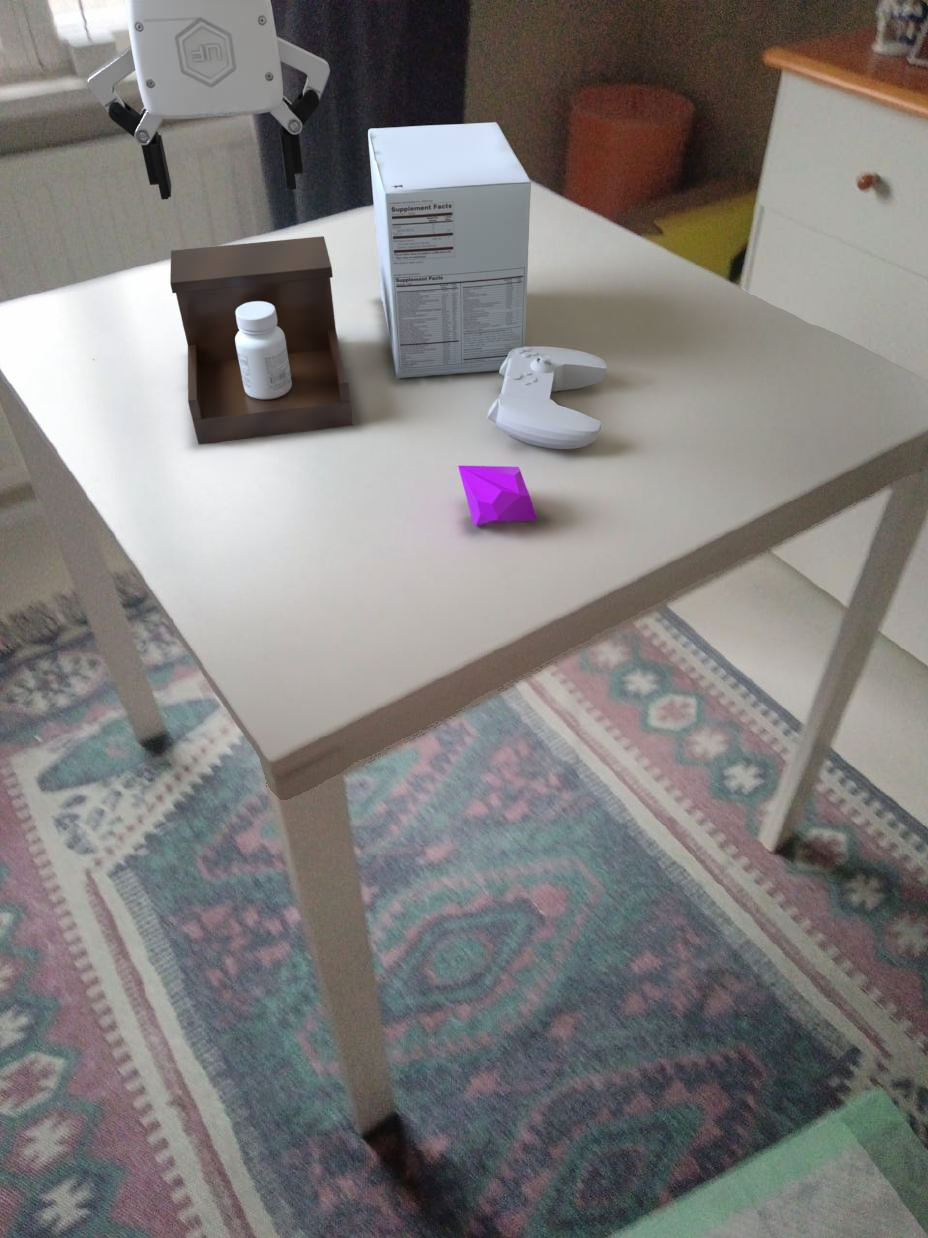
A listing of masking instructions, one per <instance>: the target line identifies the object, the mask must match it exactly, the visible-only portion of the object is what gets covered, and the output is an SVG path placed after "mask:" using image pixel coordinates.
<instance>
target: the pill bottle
mask: <svg viewBox="0 0 928 1238" xmlns="http://www.w3.org/2000/svg"><path fill="white" fill-rule="evenodd" d="M236 320H237V325H238V328H239V330H240V331H239V332H238V333H237V335H236V337H235V343H236V349H237V354H238V359H239V364H240V370H241V375H242V381H243V385H244V390H245V392H246V393H247V394H248V395H249V396H250V397H252V398H256V399H274V398H278V397H281V396H283V395H285V394H286V393H287V392H288V391H289V390H290V389H291V386H292V380H291V373H290V366H289V360H288V353H287V347H286V340H285V335H284V332H283V331H282V329H280V328H279V327H278V326H277V315H276V310H275V307H274V306H273V305H272V304H270V303H267V302H263V301H255V302H248V303H245V304H243V305H241V306H239V307H238V308H237V309H236Z"/></svg>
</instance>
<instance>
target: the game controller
mask: <svg viewBox="0 0 928 1238" xmlns="http://www.w3.org/2000/svg"><path fill="white" fill-rule="evenodd" d="M498 371H499V372H498V373H499V374H500V375H501V376H503V382H502V386H501V387H502V388H501V391H500V392H499V395H498V397H497V398H496V399H495V400H494V402H493V403H492V404H491V406H490V408H489V410H488V411H487V416H486V418H487V419H488V420H490V421H492V422H494V423H495V426H496V427H497V428H498V429H500V430H501V431H502V432H504V433H505V434H507V435H509V437H512V438H514V439H515V440H518V441H520V442H523V443H526V444H529V445H532V446H536V447H540V448H545V449H552V450H572V449H573V450H574V449H580V448H583V447H586V446H589V445H590V444H592V443H593V442H595V441H596V440H597V438H598V437H599V434H600V433H601V431H602V426H603V425H602V422H601V421H600V420H598V419H596V418H594V417H591V416H589V415H587V414H584V413H583V412H580V411H577V410H575V409H572V408H569V407H565V406H561V405H558V404H557V403H556V402H555V401H554V400H553V399H551V393H552V392H558V391H566V390H568V391H569V390H576V389H581V388H585V387H590V386H593V385H596V384H597V383H600V382H602V381H603V380H604V379H605V378H606V377H607V373H608V369H607V364H606V361H605V360H603V358H601V357H599V356H597V355H595V354H593V353H589V352H585V351H581V350H578V349H572V348H565V347H555V346H526V345H525V347H521V348H516V349H512V350H511V351H510V352H509V354H508V357H507V358H506V360H505V361H504V363H503V364H502V366H501V367H500V370H498Z"/></svg>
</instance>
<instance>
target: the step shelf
mask: <svg viewBox="0 0 928 1238" xmlns="http://www.w3.org/2000/svg"><path fill="white" fill-rule="evenodd" d="M169 276H170V277H169V278H170V279H169V280H170V281H169V284H170V289H171V292H172V294H175V295H176V301H177V305H178V309H179V314H180V318H181V322H182V327H183V331H184V337H185V340H186V345H187V403H188V406H189V411H190V415H191V419H192V424H193V428H194V432H195V436H196V440H197V444H198V445H202V444H203V445H204V444H210V443H218V442H227V441H235V440H243V439H251V438H260V437H267V436H276V435H283V434H284V435H285V434H292V433H301V432H309V431H316V430H325V429H332V428H341V427H342V428H343V427H350V426H354V425H353V423H354V422H353V415H352V404H351V397H350V387H349V380H348V375H347V371H346V366H345V363H344V359H343V355H342V350H341V346H340V341H339V337H338V333H337V328H336V319H335V309H334V300H333V291H332V283H331V278H333V266H332V262H331V259H330V255H329V250H328V246H327V243H326V239H325V236H323V235H322V236H312V237H311V236H310V237H300V238H299V237H298V238H289V239H280V240H270V241H258V242H249V243H238V244H237V243H236V244H227V245H226V244H225V245H217V246H206V247H196V248H195V247H194V248H185V249H174V250H170V275H169ZM255 301H263V302H267V303H270V304H272V305H273V306H274V307H275V310H276V315H277V326H278V327H279V328H280V329H282V331H283V332H284V335H285V340H286V347H287V353H288V360H289V366H290V373H291V380H292V386H291V389H290V390H289V391H288V392H287V393H286V394H285V395H283V396H281V397H278V398H274V399H256V398H252V397H250V396H249V395H248V394H247V393H246V392H245V390H244V385H243V381H242V375H241V370H240V364H239V359H238V354H237V349H236V343H235V337H236V335H237V333H238V332H239V331H240V330H239V328H238V325H237V320H236V309H237V308H238V307H239V306H241V305H243V304H245V303H248V302H255Z"/></svg>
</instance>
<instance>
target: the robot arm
mask: <svg viewBox="0 0 928 1238" xmlns="http://www.w3.org/2000/svg"><path fill="white" fill-rule="evenodd" d="M271 1H272V0H124V7H125V15H126V21H127V28H128V34H129V40H130V45H129V46H128V47H126V48H124V49H123V50H122V51H120V52H119V53H118V54H116V55H114V56H113V57H112V58H111V59H109V60H108V61H107V62H105V63H103V64H102V65H100V66H99V67H97V69H94V71H92V72H91V73H90V74H89V75H88V77H87V78H88V79H87V82H86V83H87V87H88V89H89V90H90V92H91V93H92V95H93V96H94V97H95V99H96V100H97V101H98V102H99V104H100V105H101V107H102V108H103V109H104V110H105V111H106V113H107V114H108V116H109V118H110V119H111V120H112V121H113V122H114V123H115V124H117V125H118V126H119V127H120V128H122V129H123V130H124V131H126V132H127V133H128V134H129V135H131V137H133V138H134V139H135V141H136V142H137V143H138V144H139V145H141V150H142V155H143V160H144V164H145V169H146V173H147V177H148V182H149V185H150V186H158V189H159V194H160V199H161V200H169V199H170V198H171V197H172V181H171V176H170V172H169V166H168V161H167V157H166V151H165V146H164V141H163V138H162V137H163V136H162V134H159V131H158V129H159V128H160V126H161V124H162V123H163V121H164V120H189V119H207V118H221V117H222V118H223V117H237V116H249V115H261V114H265V113H270V115H272V116H273V117H274V118H275V119H276V121H277V122H278V123H279V124H280V126H278V134H279V142H280V151H281V159H282V166H283V167H282V168H283V174H284V180H285V185H286V189H289V190H297V181H296V175H302V174H304V165H303V157H302V149H301V142H300V141H301V140H300V133H301V132H302V130H303V126H304V125H305V124H306V123H307V121H308V120H309V119H310V118H311V116H312V115H313V114H314V112H315V111H316V110H317V109H318V107H319V105H320V100H321V97H322V94H323V93H324V90H325V87H326V85H327V82H328V79H329V77H330V73H331V68H330V65H329V63H328V62H327V61H326V60H325V59H324V58H322V57H320V56H317V55H316V54H313V53H312V52H310V51H307V50H305V49H304V48H301V47H300V46H297V45H295V44H293V43H291V42H289V41H287V40H286V39H283V38H281V37H280V36H277V30H276V24H275V18H274V12H273V7H272V2H271ZM282 64H285V65H287V66H288V67H291V68H292V69H295V70H297V71H300V72H302V73H303V74H305V75H306V76H307V77H306V80H305V84H304V86H303V87H304V88H303V89H302V90H300V92H299V93H298V95H297V97H296V98H295V99H294V100H293V102H291V101H290V100H289V99H288V98H287V97H286V96H285V95H284V81H283V80H284V79H283V70H282ZM134 72H135V75H136V76H135V77H136V81H137V85H138V90H139V94H140V97H141V102H142V104H143V107H142V109H141V111H140V113H139V112H138V111H137V110H136V109H134V108H133V107H132V106H131V105H129V104H128V103H127V102H126V101H124V100H123V99H122V98H121V97H120V96H119V94H118V92H117V91H116V89H115V85H117V84H118V83H120V82H121V81H122V80H124V79H125V78H127V77H128V76H129V75H131V74H132V73H134Z"/></svg>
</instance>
